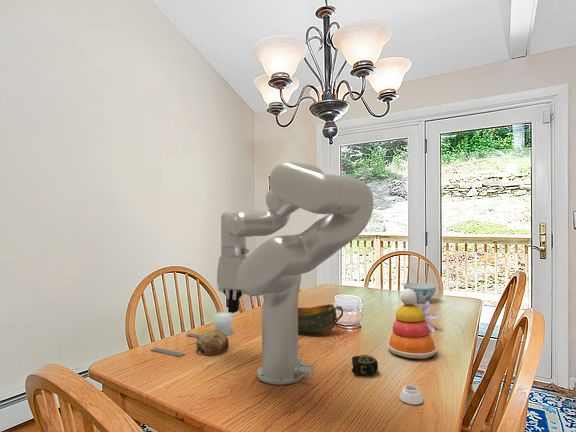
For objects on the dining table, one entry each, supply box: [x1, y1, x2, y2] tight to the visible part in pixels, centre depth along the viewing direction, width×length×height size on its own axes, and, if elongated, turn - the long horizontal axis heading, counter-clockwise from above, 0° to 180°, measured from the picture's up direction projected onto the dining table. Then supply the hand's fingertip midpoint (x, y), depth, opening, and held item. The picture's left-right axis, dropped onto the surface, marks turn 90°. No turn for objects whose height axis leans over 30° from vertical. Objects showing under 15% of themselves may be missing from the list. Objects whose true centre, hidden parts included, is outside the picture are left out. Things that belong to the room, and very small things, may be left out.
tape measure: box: [351, 354, 379, 376], centre depth 97 cm, size 7×7×4 cm
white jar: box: [399, 384, 424, 406], centre depth 82 cm, size 5×3×5 cm
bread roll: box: [195, 329, 230, 356], centre depth 115 cm, size 10×10×8 cm
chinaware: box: [403, 282, 437, 304], centre depth 178 cm, size 15×15×8 cm
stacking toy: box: [387, 289, 438, 360], centre depth 111 cm, size 14×14×20 cm
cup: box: [214, 311, 233, 336], centre depth 131 cm, size 6×6×7 cm
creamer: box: [298, 303, 344, 337], centre depth 131 cm, size 13×20×10 cm, turn 50°
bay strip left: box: [150, 347, 185, 358], centre depth 113 cm, size 12×2×1 cm, turn 63°
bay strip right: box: [186, 333, 201, 339], centre depth 127 cm, size 12×2×1 cm, turn 63°
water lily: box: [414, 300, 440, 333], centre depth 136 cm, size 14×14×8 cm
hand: (233, 311), depth 112 cm, fingers closed
